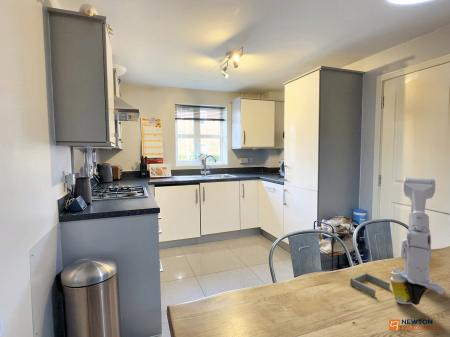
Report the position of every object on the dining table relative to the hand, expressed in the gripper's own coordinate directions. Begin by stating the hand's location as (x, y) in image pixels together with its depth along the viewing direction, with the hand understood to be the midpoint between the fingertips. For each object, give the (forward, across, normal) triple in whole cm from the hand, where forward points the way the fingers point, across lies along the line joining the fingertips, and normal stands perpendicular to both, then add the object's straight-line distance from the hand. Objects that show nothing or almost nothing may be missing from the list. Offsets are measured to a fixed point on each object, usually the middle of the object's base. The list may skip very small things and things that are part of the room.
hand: (415, 303), depth 87 cm
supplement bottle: (+1, -3, 0) cm, 4 cm away
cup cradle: (+2, -15, 0) cm, 15 cm away
